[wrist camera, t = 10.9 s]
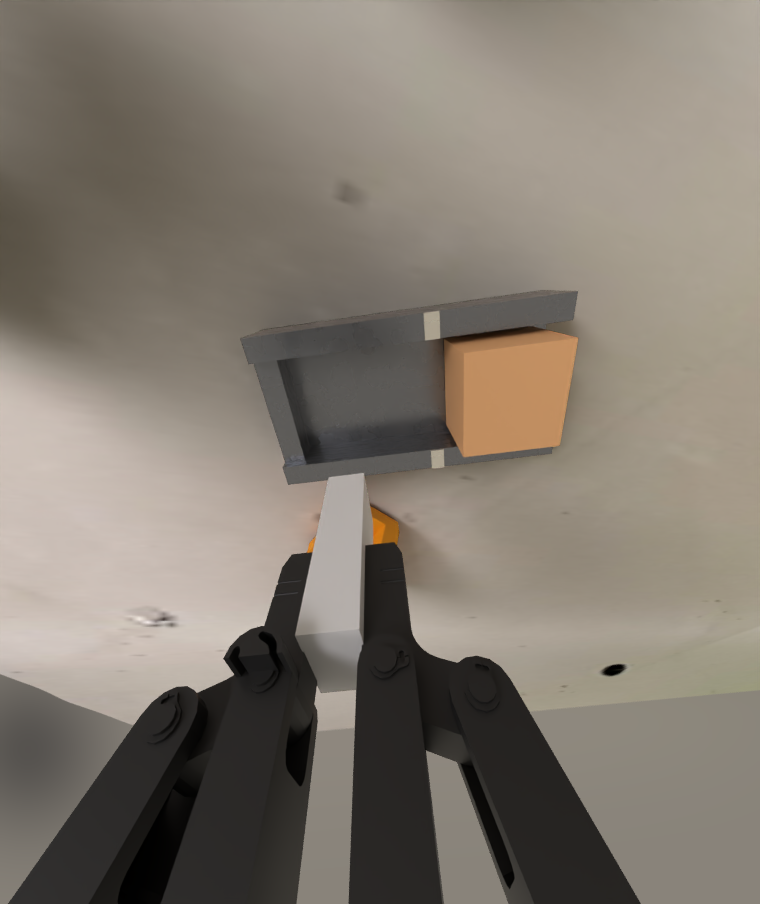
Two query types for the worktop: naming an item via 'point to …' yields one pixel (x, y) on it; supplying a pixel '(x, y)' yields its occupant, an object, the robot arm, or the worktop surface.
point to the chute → (379, 384)
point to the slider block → (507, 389)
